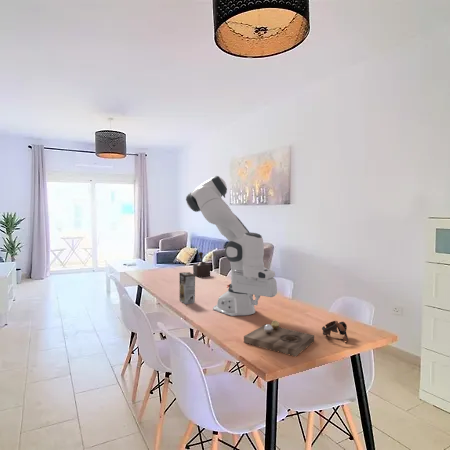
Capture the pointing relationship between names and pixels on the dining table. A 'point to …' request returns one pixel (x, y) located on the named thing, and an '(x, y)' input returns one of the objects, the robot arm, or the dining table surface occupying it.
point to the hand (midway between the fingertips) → (253, 304)
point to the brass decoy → (275, 324)
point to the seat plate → (280, 340)
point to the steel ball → (268, 328)
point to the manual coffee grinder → (201, 268)
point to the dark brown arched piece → (335, 328)
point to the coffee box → (187, 287)
